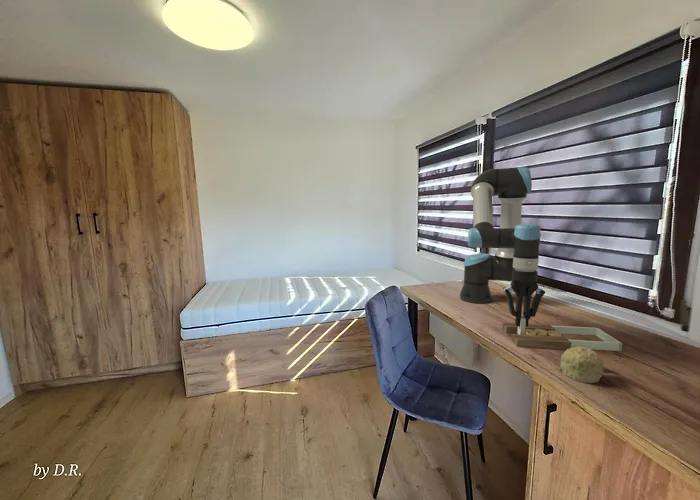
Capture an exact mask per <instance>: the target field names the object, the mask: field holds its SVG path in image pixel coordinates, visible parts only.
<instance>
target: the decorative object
mask: <svg viewBox="0 0 700 500" xmlns="http://www.w3.org/2000/svg"><path fill="white" fill-rule="evenodd" d="M560 371H561V373H562V374H563V375H565V376H566V377H568V378H570V379H571V380H574V381H577V382H581V383H586V384H595V383H599V382H600V379H601V377H603V373H604V361H603V359H602V358H601V357H600V356H599V354H598V353H597V351H594V350H593V349H589V348H586V347H580V346H578V347H572V348H569V349H567V350H564V352H562V354H561V357H560Z"/></svg>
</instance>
